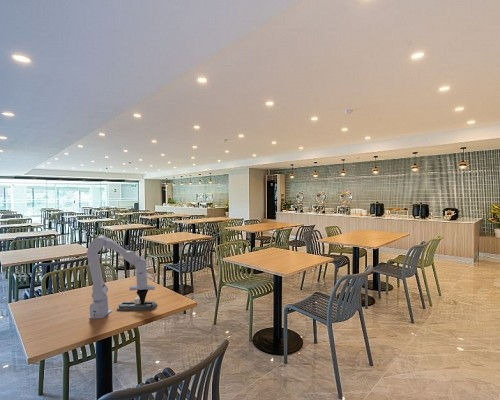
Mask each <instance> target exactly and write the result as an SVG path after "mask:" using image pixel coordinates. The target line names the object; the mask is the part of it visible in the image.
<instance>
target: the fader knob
mask: <svg viewBox="0 0 500 400" xmlns="http://www.w3.org/2000/svg"><path fill="white" fill-rule="evenodd" d="M134 301H135V304H141V300H140V298H139V296H136V297H135V298H134Z"/></svg>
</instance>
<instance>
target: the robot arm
mask: <svg viewBox="0 0 500 400" xmlns="http://www.w3.org/2000/svg"><path fill="white" fill-rule="evenodd" d="M102 248H104V249H111V250H113V251H114V252H116V253H118V254H119V255H122V256H123V260H125V261H127V262H128V263H129V264H131V265H132V266H134V268H135V271H136V272H135V276H136V278H135V279H136V285H131V286H129V291H136V294H137V297H139V298H140V300H141V303H144V302H145V301H146V297H147V295H148V292H149V291H154V290H156V286H155V285H149V284H148V271H147V260H146V259H145V257H142V256H140V255H138V254H137V253H136V252H135V251H134V250H127V249H126V248H124V247H122V246H121V245H120V244H119V243H117V242H115V241H114V240H113V239H111V238H109V237H107V236H106V235H103V234H102V235H99V236H97V237H95V238H93V239H92V240H91V242H90V243H89V246H88V249H87V251H86V256H87V261H88V262H87V263H88V268H89V271H90V276H91V281H92V288H91V289H92V292H91V298H92V302H91V304H90V305H89V317H88V319H103V318H105V317H106V316H107V315H109V314H110V313H111V312H113V310H112V309H109V299H108V297H109V296H108V295H107V293H108V291H109V289H108V288H109V287H108V286H107V285H106V283H105V281H104V279H103V274H102V269H101V265H100V259H99V255H98V254H99V252H100V251H101V250H102Z"/></svg>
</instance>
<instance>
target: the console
mask: <svg viewBox="0 0 500 400" xmlns="http://www.w3.org/2000/svg"><path fill="white" fill-rule="evenodd" d="M157 306H158V303H157V302H156V301H154V300H153V301H151V300H149V301H146V300H145V302H144V303H141V304H135V300H134V301H123V302H120V303H119V304H118V307H117V308H116V311H124V312H125V311H153V310H154V309H155V308H156V307H157Z"/></svg>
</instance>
